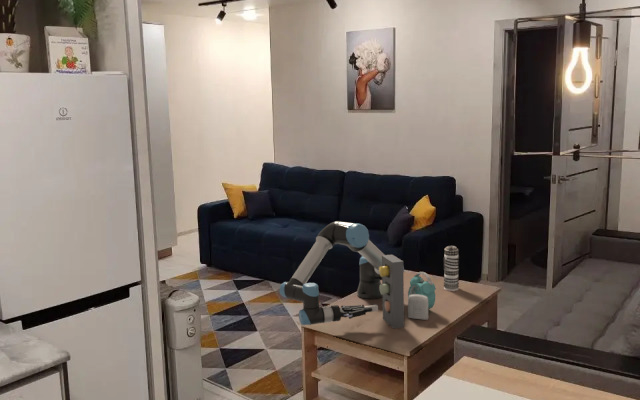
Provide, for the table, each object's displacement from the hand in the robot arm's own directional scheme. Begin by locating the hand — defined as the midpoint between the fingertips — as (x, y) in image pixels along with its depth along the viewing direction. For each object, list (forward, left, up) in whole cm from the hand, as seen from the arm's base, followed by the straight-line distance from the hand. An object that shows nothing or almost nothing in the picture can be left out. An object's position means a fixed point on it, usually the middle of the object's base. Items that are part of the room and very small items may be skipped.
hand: (377, 307), depth 294 cm
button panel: (-3, +9, -9) cm, 13 cm away
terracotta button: (-2, +7, -3) cm, 8 cm away
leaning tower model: (-50, +53, -9) cm, 73 cm away
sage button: (-2, +4, +6) cm, 8 cm away
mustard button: (-2, +4, +15) cm, 16 cm away
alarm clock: (-19, +27, -9) cm, 34 cm away
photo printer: (-7, +22, -9) cm, 25 cm away
